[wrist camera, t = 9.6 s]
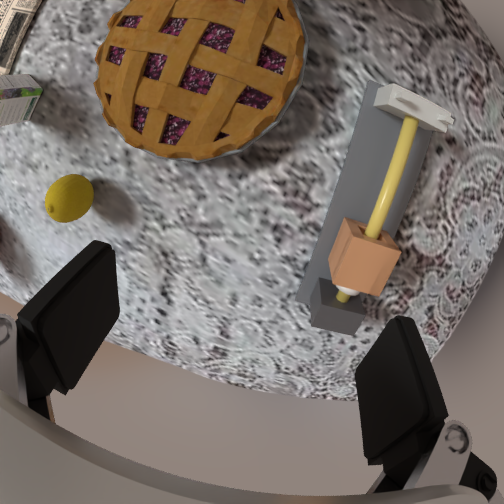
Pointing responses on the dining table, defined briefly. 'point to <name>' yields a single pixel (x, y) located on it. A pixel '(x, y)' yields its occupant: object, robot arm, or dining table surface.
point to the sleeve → (362, 258)
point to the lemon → (69, 198)
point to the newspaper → (14, 28)
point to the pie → (200, 73)
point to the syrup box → (17, 98)
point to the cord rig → (371, 192)
